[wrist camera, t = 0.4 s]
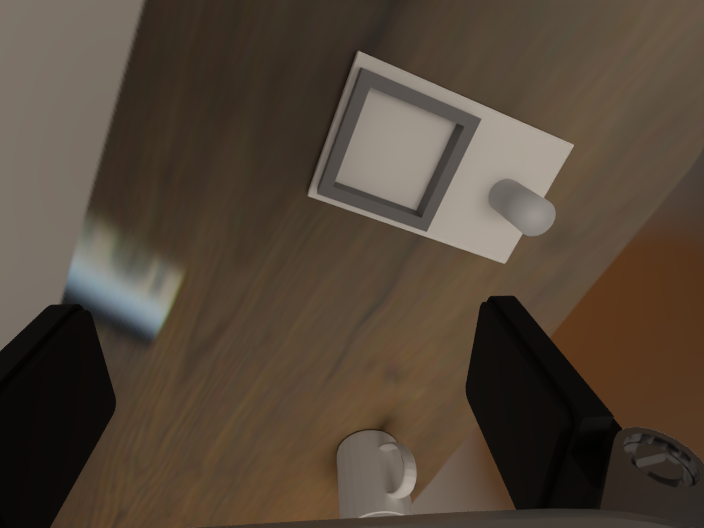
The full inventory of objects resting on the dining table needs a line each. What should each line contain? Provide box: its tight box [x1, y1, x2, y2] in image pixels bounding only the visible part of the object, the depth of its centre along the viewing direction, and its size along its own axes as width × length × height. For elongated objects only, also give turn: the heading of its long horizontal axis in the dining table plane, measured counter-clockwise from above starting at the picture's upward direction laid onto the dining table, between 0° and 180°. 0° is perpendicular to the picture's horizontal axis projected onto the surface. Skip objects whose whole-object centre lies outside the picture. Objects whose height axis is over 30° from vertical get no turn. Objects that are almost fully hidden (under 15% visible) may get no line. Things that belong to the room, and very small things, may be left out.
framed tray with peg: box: [308, 51, 574, 264], centre depth 35 cm, size 12×20×8 cm, turn 69°
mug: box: [337, 430, 417, 519], centre depth 48 cm, size 12×8×10 cm, turn 156°
